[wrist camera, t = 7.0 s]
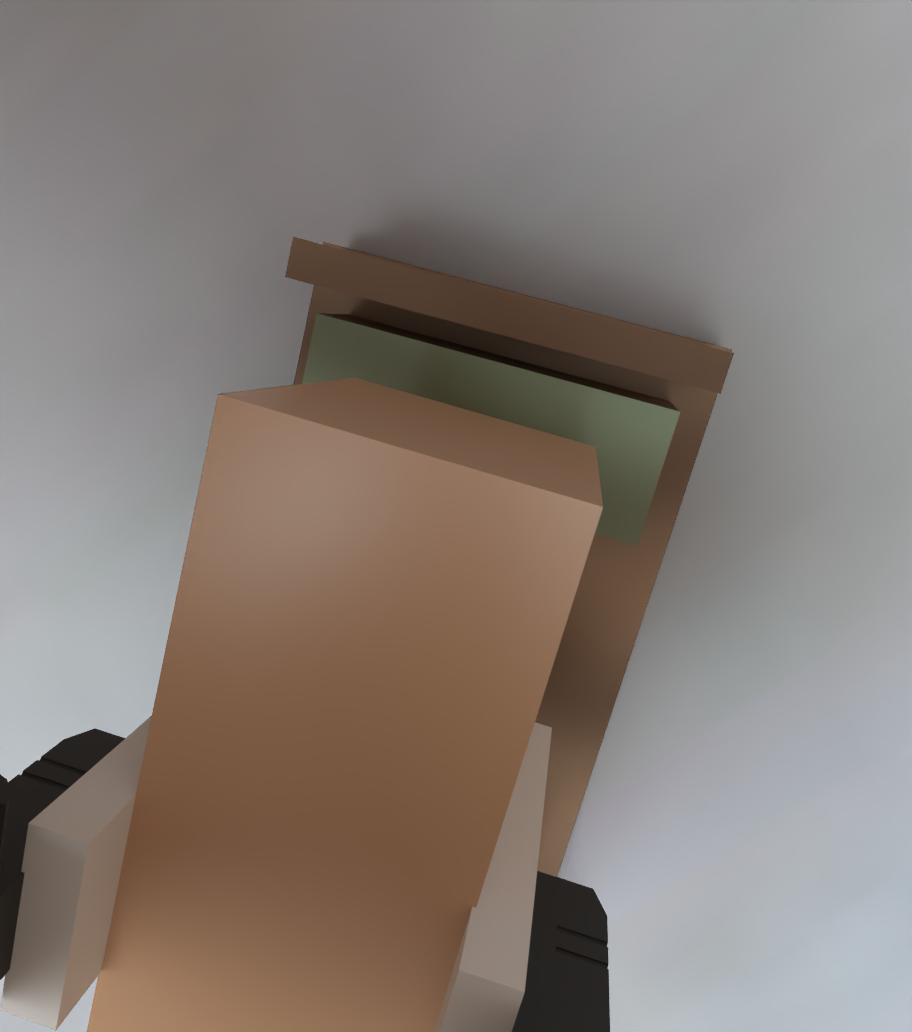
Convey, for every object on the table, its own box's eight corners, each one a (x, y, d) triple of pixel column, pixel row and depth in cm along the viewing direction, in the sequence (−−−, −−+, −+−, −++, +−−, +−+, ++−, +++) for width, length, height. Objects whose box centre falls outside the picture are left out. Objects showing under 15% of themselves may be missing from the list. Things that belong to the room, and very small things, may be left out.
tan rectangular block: (355, 377, 16) (218, 394, 10) (595, 447, 15) (603, 506, 9) (203, 1007, 19) (30, 1305, 13) (400, 1078, 18) (314, 1419, 12)
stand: (345, 248, 23) (270, 225, 17) (719, 347, 22) (761, 354, 16) (227, 800, 27) (138, 918, 22) (537, 902, 26) (523, 1050, 21)
